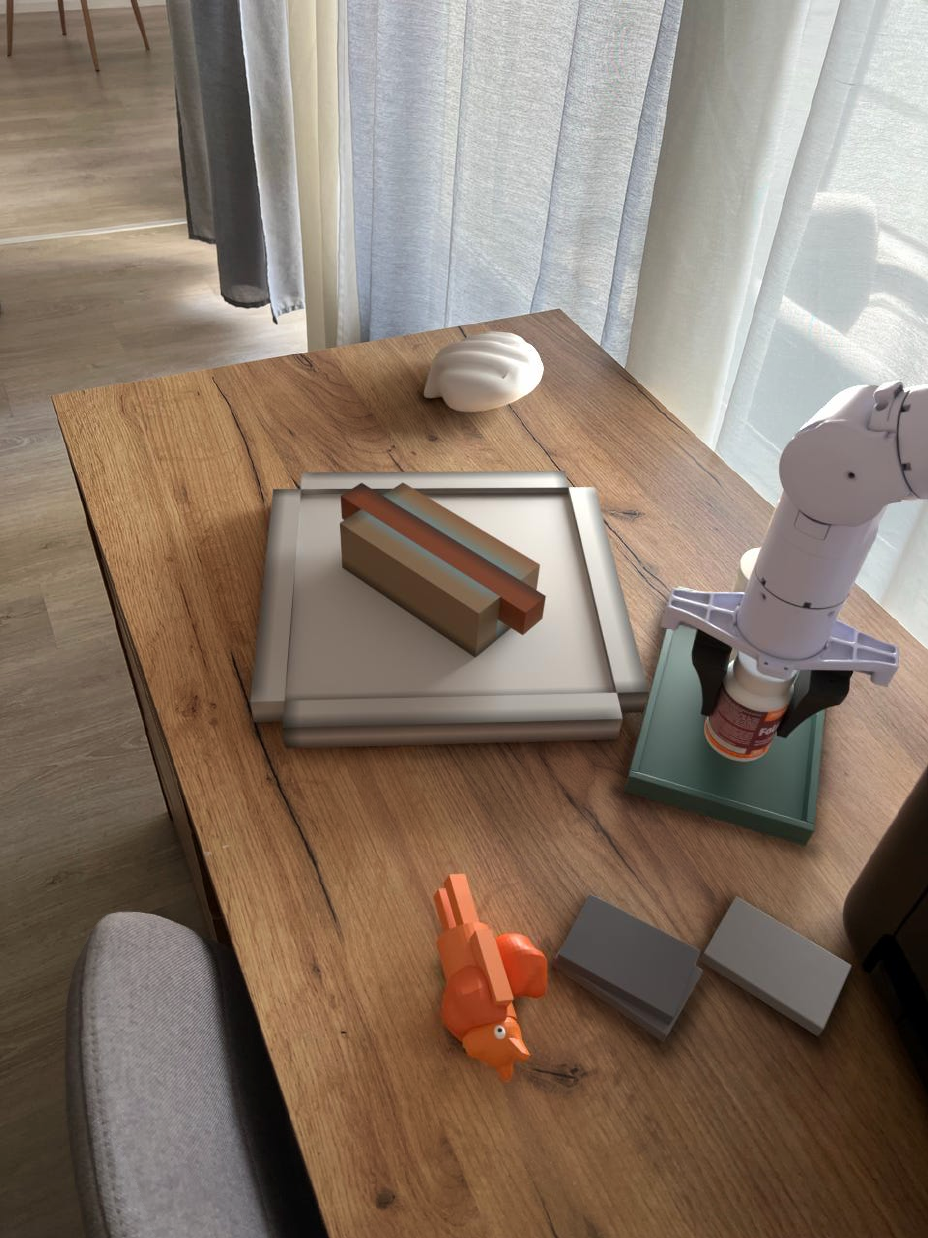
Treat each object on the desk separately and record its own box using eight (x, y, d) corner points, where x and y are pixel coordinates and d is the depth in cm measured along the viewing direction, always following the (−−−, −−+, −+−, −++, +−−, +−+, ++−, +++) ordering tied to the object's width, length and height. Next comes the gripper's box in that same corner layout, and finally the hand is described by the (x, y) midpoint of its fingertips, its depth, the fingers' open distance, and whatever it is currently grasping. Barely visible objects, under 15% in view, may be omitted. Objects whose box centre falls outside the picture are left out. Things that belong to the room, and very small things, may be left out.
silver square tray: (586, 496, 94) (597, 433, 89) (647, 743, 73) (667, 679, 68) (277, 498, 92) (270, 433, 86) (252, 754, 71) (239, 689, 66)
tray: (805, 846, 68) (814, 831, 66) (623, 792, 70) (628, 776, 69) (825, 641, 82) (832, 625, 81) (673, 601, 84) (677, 585, 83)
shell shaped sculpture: (563, 403, 105) (571, 350, 101) (479, 445, 99) (483, 391, 95) (484, 353, 112) (488, 302, 107) (400, 389, 106) (400, 336, 101)
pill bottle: (756, 774, 67) (792, 698, 61) (693, 744, 68) (721, 667, 62) (778, 729, 70) (814, 652, 64) (717, 700, 71) (746, 623, 65)
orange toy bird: (423, 865, 59) (478, 1061, 51) (528, 860, 62) (595, 1043, 54) (398, 908, 62) (445, 1099, 54) (499, 901, 65) (558, 1080, 57)
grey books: (845, 973, 61) (858, 957, 60) (778, 1126, 55) (790, 1112, 53) (631, 842, 67) (637, 824, 66) (546, 966, 61) (551, 949, 59)
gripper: (672, 588, 56) (632, 729, 66) (927, 654, 54) (846, 790, 63) (691, 516, 61) (651, 657, 71) (927, 573, 58) (851, 712, 68)
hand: (744, 715), depth 67 cm, fingers closed on pill bottle, 5 cm apart
